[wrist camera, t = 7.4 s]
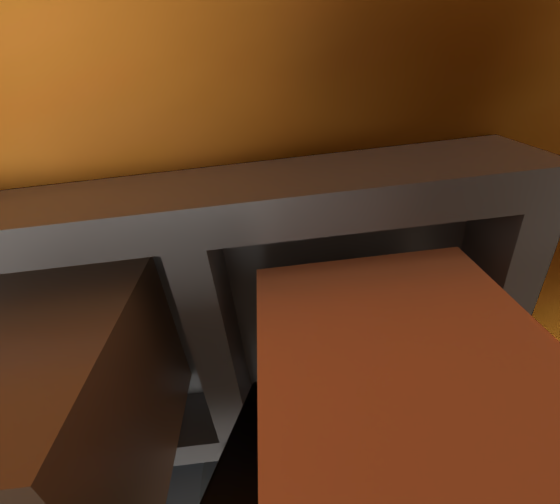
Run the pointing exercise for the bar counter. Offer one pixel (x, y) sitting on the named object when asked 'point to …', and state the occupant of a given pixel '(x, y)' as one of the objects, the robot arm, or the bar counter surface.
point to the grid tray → (215, 295)
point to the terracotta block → (403, 385)
